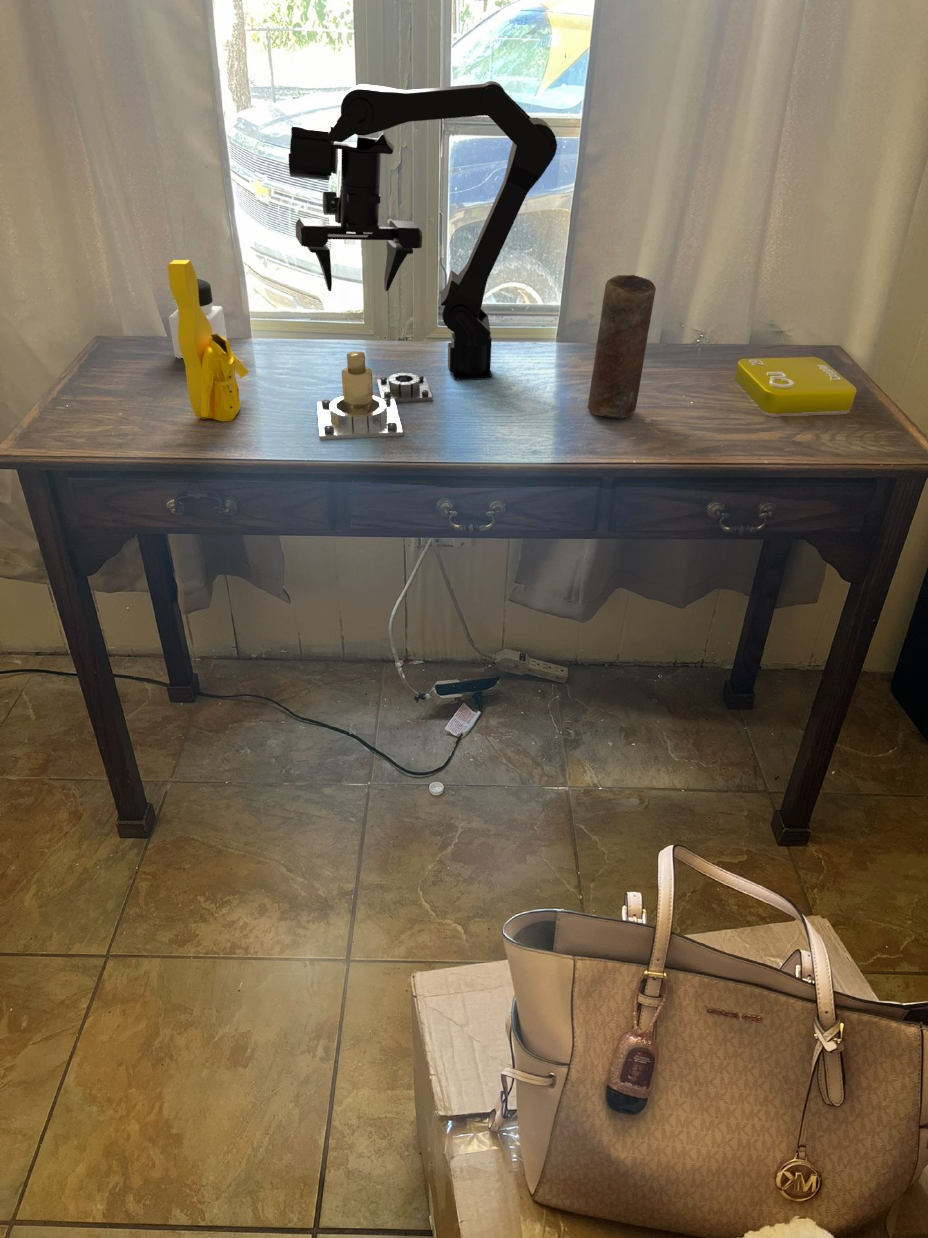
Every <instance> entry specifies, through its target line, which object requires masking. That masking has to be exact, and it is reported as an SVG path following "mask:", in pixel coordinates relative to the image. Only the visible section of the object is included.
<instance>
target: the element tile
mask: <svg viewBox="0 0 928 1238" xmlns="http://www.w3.org/2000/svg"><path fill="white" fill-rule="evenodd" d="M734 379H735V380H736V381H737V383H738V384H739V385H740V386H741V387H742V389H743V390H744V391H746V393H747V394H748V395H749V396H750V397H751V398H752V400H754V402H755V403H756V404H757V405H758V407H759V408H760V409H761V410H763V411H765V412H768V413H776V414H780V413H781V414H782V413H802V412H819V411H820V412H821V411H842V410H848V409H851V410H852V408H853V404H854V401H855V398H856V395H857V391H858V390H857V388H856V387H855V386H854V385H853V384H852V383H851V382H850V381H849V380H847V379H846V378H845V377H844V376H842V375H841V374H840V373H839V372H838V371H836V369H834V368H833V367H832V366H831V365H829V364H828V363H827V362H825V360H823V359H821V358H819V357H816V356H807V357H806V356H801V357H798V356H796V357H794V356H793V357H765V358H764V357H763V358H762V357H759V358H757V357H754V358H741V359H740V360H738V361H737V367H736V370H735V376H734ZM851 407H852V408H851Z"/></svg>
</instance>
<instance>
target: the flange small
mask: <svg viewBox="0 0 928 1238" xmlns="http://www.w3.org/2000/svg"><path fill="white" fill-rule="evenodd" d="M376 384H377V387H378V388H377V389H378V392H379V398H381V399H382V398H385V397H388V398H390V399H395V403H413V402H416V403H417V402H433V395H432V392H431V389H430V386H429V383H428V381H427V378H426V377H424V375H417V374H413V373H410V372H409V373H408V372H400V373H399V372H398V373H394V374H392V375H390V376H389V377H388V378H387V377H384V376H383V377H380V379H377V380H376Z"/></svg>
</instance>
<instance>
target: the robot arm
mask: <svg viewBox="0 0 928 1238" xmlns="http://www.w3.org/2000/svg"><path fill="white" fill-rule="evenodd" d="M482 116H486V117H489V118H490V119H491V120H492V121H493V122H494V124H495V125H497V126H498V128H499V129H500V130H501V131H502V132H503V134H505V135H506V136H507V138H509V139H510V141H512V144H511V147H510V151H509V155H508V159H507V160H508V161H507V164H506V169H505V174H504V178H503V180H502V183H501V185H500V187H499V189H498V192H497V195H496V196H495V199H494V200H493V203H492V205H491V208H490V210H489V213H488V214H487V217H486V220H485V222H484V224H483V225H482V228H481V230H480V232H479V235H478V237H477V239H476V242H475V244H474V246H473V249H472V250H471V253H470V255H469V258H468V259H467V262H466V264H465V266H464V267H463V268H462V269H461V270H460V272H459V273H456V272H454V270H450V272H449V275H448V279H447V283H446V285H445V287H444V288H442V290H441V291H440V305H441V307H442V308H441V309H442V312H441V313H442V321H443V323H444V326H445V327H447V329H448V330H450V331H451V332H452V333H451V337H450V339H451V341H450V342H449V343H448V344H447V367H448V368H447V369H448V370H449V372H450V373H451V375H452V377H453V379H454V380H475V379H477V380H478V379H480V380H481V379H492V378H493V373H492V370H491V366H492V365H491V362H492V342H493V341H492V340H493V339H492V336H491V334H492V333H491V327H490V320H489V315H488V314H487V313H486V312H485V311H484V310H483V309H482V307H483V301H484V297H485V291H486V288H487V282H488V279H489V277H490V275H491V273H492V271H493V268H494V266H495V264H496V262H497V260H498V258H499V255H500V253H501V251H502V249H503V247H504V245H505V242H506V241H507V238H508V236H509V233H510V232H511V229H512V227H513V225H514V223H515V221H516V219H517V216H518V215H519V212H520V210H521V207H522V205H523V203H524V201H525V199H526V196H527V195H528V193H529V192H530V190H531V189H532V188H533V187H534V185H536V183H538V181H539V180H540V179H541V177H542V176H543V174H544V173H545V171H546V170H547V168H548V167H549V166H550V165H551V163H552V162H553V159H554V158H555V156H556V153H557V151H558V149H557V148H558V143H557V138H556V134H555V133H554V132H553V130H552V129H551V127H550V125H549V124H548V122H547V121H545V120H544V119H543V118H539V117H531V116H530V115H529V114H528V112H526V111H525V110H524V109H523V108H522V106H520V105H519V104H518V103H517V102H516V101H515V100H514V99H513V98H512V97H511V96H510V95H509V94H508V93H507V92H506V91H505V89H504V87H503V86H502V85H501V83H499V82H497V81H493V80H490V81H487V82H484V83H478V84H464V85H453V86H452V85H451V86H441V87H431V88H430V87H429V88H418V89H417V88H416V89H400V88H393V87H389V86H385V85H373V84H366V83H360V84H357V85H354V86H352V87H351V88H350V89H349V90H348V92H347V93H346V94H345V96H344V98H343V99H342V102H341V105H340V116H339V117H338V119H337V120H336V121H335V120H334V121H333V122H332V123H331V125H330V129H325V128H317V127H309V126H308V127H307V126H306V125H301V124H293V125H292V126H291V128H290V130H291V131H290V132H291V133H290V135H291V136H290V143H289V144H290V145H289V152H288V170H289V176H290V177H291V178H298V179H299V178H300V179H310V180H319V181H330V177H331V176H332V174H333V175H334V174H335V175H336V174H338V164H339V156H338V155H339V151H338V150H341V167H340V168H341V170H340V171H341V172H340V173H341V176H340V177H341V179H340V180H341V182H340V191H339V196H338V195H337V192H336V191H323V192H322V212H323V215H324V216H327V215H329V216H334V220H335V223H338V224H340V225H326V223H325V221H324V220H323V219H322V218H310V217H309V218H308V217H305V218H304V217H300V218H298V220H297V221H296V222H295V237H296V239H297V241H298V243H299V244H300V246H301V247H304V248H305V247H306V248H307V249H308V250H309V252H310V253H314V254H315V256H316V258H317V260H318V262H319V265H320V268H321V272H322V274H323V280H324V281H325V285H326V288H327V291H329V292H332V286H333V278H332V276H333V275H332V262H331V249H330V248H329V246H328V243H329V240H348V241H349V240H352V241H353V240H354V241H358V240H359V241H361V240H362V241H365V240H366V241H386V250H387V253H386V262H385V270H384V279H383V283H384V285H383V288H384V291H385V292H389V290H390V288H391V285H392V283H393V281H394V279H395V277H396V275H397V273H398V271H399V268H400V267H401V266H402V265H403V263H404V261H405V259H406V258H407V256H408V255H411V254H413V253H414V249H422V247H423V233H422V230H421V228H420V227H419V226H418V225H416V224H415V223H414V222H413V221H412V220H402V219H401V220H400V219H399V220H395V219H394V220H393V219H390V221H389V223H388V224H389V225H388V226H380V224H379V217H380V215H379V214H380V213H379V212H380V204H381V195H380V190H381V189H380V187H381V183H380V182H381V165H382V164H381V159H382V154H383V155H384V154H385V155H392V154H393V153H394V149H395V146H394V144H392V143H391V141H389V139H388V138H387V136H386V133H385V132H382V131H386V130H388V129H391V128H394V127H396V126H399V125H403V124H406V123H410V122H420V121H422V122H423V121H433V120H445V119H458V118H469V117H470V118H471V117H482ZM379 132H382V133H380V135H379V136H378V137H367V136H368V135H372V134H375V133H379ZM354 135H357V138H356V142H355V141H354V142H352V141H351V142H349V141H346V140H347V139H349V138H351V137H352V136H354ZM337 196H338V197H337Z"/></svg>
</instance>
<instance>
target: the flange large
mask: <svg viewBox="0 0 928 1238" xmlns="http://www.w3.org/2000/svg"><path fill="white" fill-rule="evenodd" d="M396 403H397V402H395V399H390V398H388V397H385V398H382V399H381V398H380V396H376V395H373V411H374V412H370V413H367V414H348V413H344V404H343V395H342V396H339V397H336V398H334V399H333V400H332V401H331V400H329V399H324V400H321V401H317V402H316V405H317V419H318V430H319V440H320V441H321V440H323V441H324V440H342V439H363V438H380V437H381V438H382V437H385V438H386V437H400V436H401V437H402V436H404V432H403V428H402V427H403V426H402V424H401V420H400V416H399V412H398V408H397V404H396Z"/></svg>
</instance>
